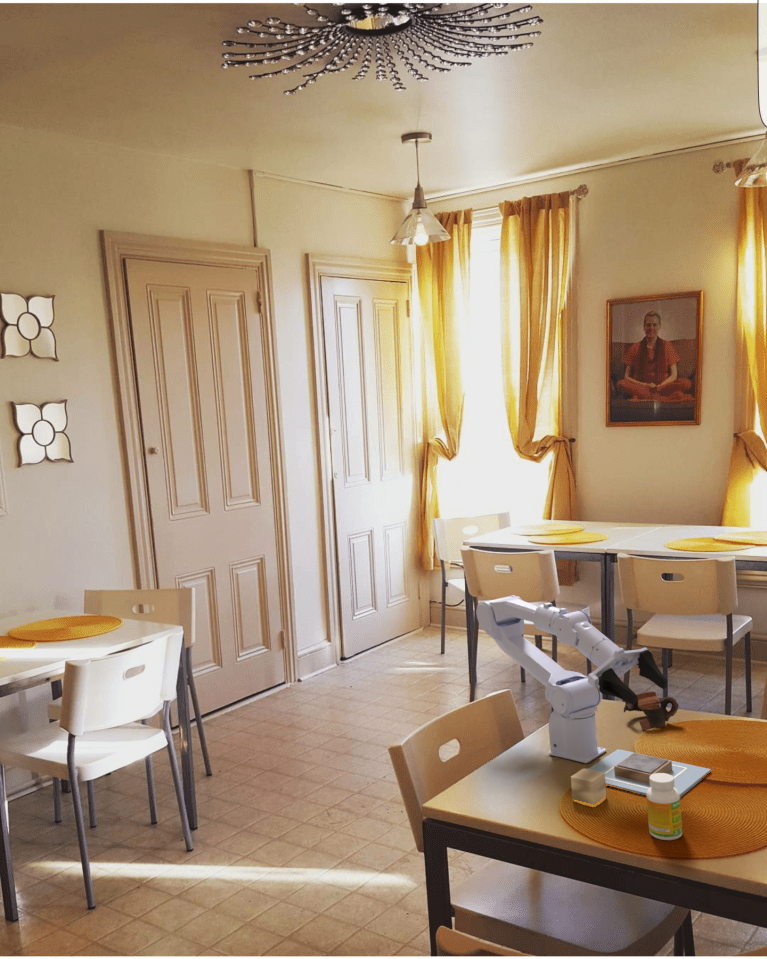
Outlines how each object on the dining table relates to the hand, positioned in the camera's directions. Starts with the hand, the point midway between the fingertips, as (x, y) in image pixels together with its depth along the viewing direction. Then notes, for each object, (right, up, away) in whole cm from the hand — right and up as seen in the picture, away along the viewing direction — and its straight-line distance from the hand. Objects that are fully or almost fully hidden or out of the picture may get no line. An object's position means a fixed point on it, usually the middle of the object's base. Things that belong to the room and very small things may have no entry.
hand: (650, 692), depth 163 cm
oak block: (-12, -20, -2) cm, 23 cm away
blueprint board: (+1, -18, +6) cm, 19 cm away
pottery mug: (+11, -15, +34) cm, 39 cm away
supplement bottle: (-3, -20, -17) cm, 26 cm away
